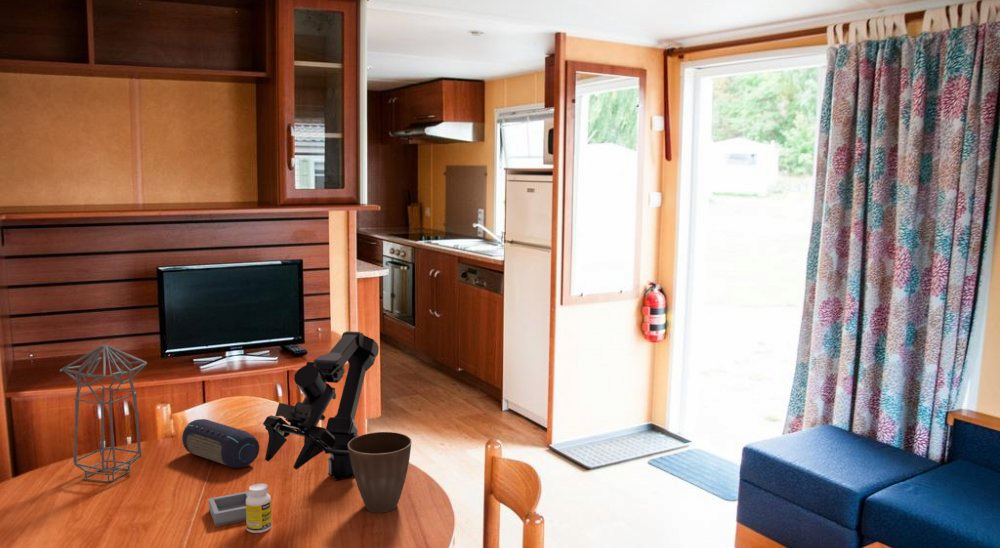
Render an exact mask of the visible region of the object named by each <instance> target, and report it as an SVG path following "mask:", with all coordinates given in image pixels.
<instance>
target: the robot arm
mask: <svg viewBox="0 0 1000 548" xmlns="http://www.w3.org/2000/svg"><path fill="white" fill-rule="evenodd" d="M378 354H379V344H378V343H377V342H376V340H374V339H373V338H372V337H369V336H366V335H365V334H364V333H363V332H361V331H351V330H350V331H349V330H348V331H344V332H342V335H341V338H340V339H339V340H338V341H337V343H336V344H335V345H334V346H333V347H332V348H331V350H330V351H329V352H328V353H326V354H322V355H318V357H316V358H315V359H314V360H313V361H306V364H305V365H304V366H302V367H300V368H299V369H298V370H297V371H296V372H295V373H294V375H293V376H294V378H293V379H294V383H295V384H296V385H297V387H298V389H300V391H301V393H302V394H303V395H304V396H305V397H304V399H303V400H302V401H301V402H300V401H297V402H296V404H295V405H291V404H287V403H283V402H278V405H277V408H276V412H275V415H268V416H267V417H266V418H264V421H263V422H262V424H263V426H264V427H265V430H266V431H267V433H268V442H267V448H266V452H265V457H264V460H265V461H266V462H270V461H271V460H272V459H273V458H274V456H275V455H276V454H277V453H278V452H279V451H280V449H281V448H282V447H283V446H284V445H285V443H286V442H287V441H288V439H287V437H289V436H290V434H291V435H294V436H300V437H303V438H304V441H303V442H304V443H303V446H302V448H301V450H300V452H299V454H298V456H297V458H296V460H295V461H294V464H293V467H292V468H293V469H294V470H296V471H297V470H298V469H300V468H301V467H302V466H304V465H305V464H307V463H308V462H309V461H310V460H312V459H313V458H315V457H317V456H318V455H319V454H322V452H324V455H325V454H326V455H329V454H330V455H329V456H330V457H328V473H329V475H330V476H332V478H333V479H334V480H335V481H339V480H344V479H348V478H355V477H354V473H353V469H352V465H351V461H350V456H349V450H348V443H349V441H350V440H352V439H353V438H355V437H358V436H359V434H358V428H357V424H356V422H355V418H356V413H357V410H358V406H359V401H360V398H361V393H362V389H363V385H364V381H365V376H366V373H367V371H368V370H369V369H370V368H371V367H372V366H374V363H375V361H376V357H377V356H378ZM346 363H348V370H347V373H346V372H345V368H344V366H345V365H346ZM345 373H346V378H345V381H344V385H343V389H342V393H341V397H340V401H339V405H338V407H337V408H338V409H337V412H336V414H335V416H334V417H333V416H332V417H331V416H329V417H328V419H327V423H326V427H322V426H321V427H320V426H318V425H319V424H318V423H319V422H320V421H325V419H326V415H324V413H325V411H326V409H327V407H328V405H330V402H331V401H332V400H336V398H337V394H336V388H335V387H333V386H332V385H330V384H329V383H331V384H338V383H339V382H340V381H341V379H343V377H344V374H345ZM282 417H283V418H282ZM284 419H285V420H284Z"/></svg>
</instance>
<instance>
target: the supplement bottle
mask: <svg viewBox="0 0 1000 548" xmlns="http://www.w3.org/2000/svg"><path fill="white" fill-rule="evenodd" d="M268 490H269V489H268V484H266V483H253V484H251V485H249V487H248V491H249V496H248V497H247V498H246V520H245V521H246V531H248V532H250V533H251V534H261V533H265V532H267V531H269V530H270V529H271V528H272V520H273V519H272V497H271V495H270V494H269V493H268Z"/></svg>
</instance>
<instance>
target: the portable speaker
mask: <svg viewBox="0 0 1000 548" xmlns="http://www.w3.org/2000/svg"><path fill="white" fill-rule="evenodd" d="M181 436H182V437H181V438H182V444H183V447H184V449H185V450H186V451H187V452H188V453H189V454H192V455H194V456H198V457H202V458H204V459H207V460H210V461H213V462H216V463H219V464H221V465H224V466H228V467H230V468H233V469H239V468H245V467H248V466H249V465H251V464H252V463H253V462H255V460H256V459H257V457H258V455H259V454H260V453H259V452H260V448H261V446H260V443H259V441H258V439H257V437H255V436H254V435H253V434H251V433H250V432H248V431H247V430H243V429H240V428H236V427H234V426H230V425H226V424H223V423H220V422H216V421H213V420H209V419H205V418H201V419H194V420H192V421H190V422H189V423H188V424H187V425H186V426H185V428H184V429H183V432H182V435H181Z"/></svg>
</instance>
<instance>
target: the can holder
mask: <svg viewBox="0 0 1000 548" xmlns="http://www.w3.org/2000/svg"><path fill="white" fill-rule="evenodd" d="M248 496H249V490H247V491H241V492H237V493H231V494H226V495H221V496H215V497H211V498H208V511H209V513H210V516H211V519H212V521H213V524H214V526H215V527H219V526H220V527H221V526H226V525H230V524H234V523H239V522H244V521H246V498H247V497H248Z"/></svg>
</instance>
